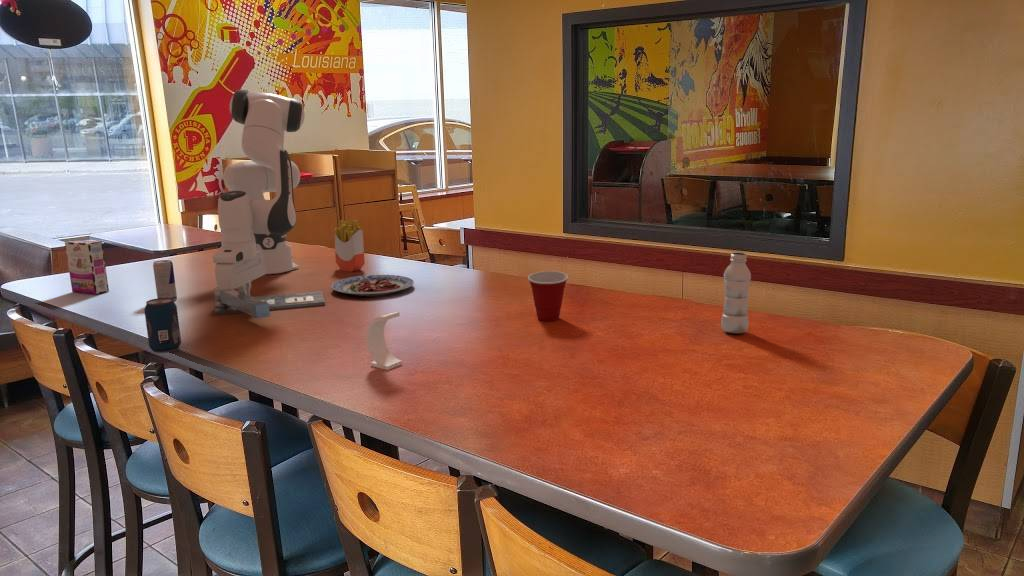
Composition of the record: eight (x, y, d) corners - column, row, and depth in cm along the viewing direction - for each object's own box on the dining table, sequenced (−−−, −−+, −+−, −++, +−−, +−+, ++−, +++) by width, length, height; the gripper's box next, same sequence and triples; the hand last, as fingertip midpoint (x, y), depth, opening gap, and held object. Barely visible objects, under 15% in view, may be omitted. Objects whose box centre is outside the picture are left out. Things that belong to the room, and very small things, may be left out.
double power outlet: (216, 303, 215) (215, 295, 214) (322, 294, 224) (321, 287, 223) (213, 315, 202) (212, 307, 201) (325, 305, 211) (324, 297, 210)
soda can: (150, 347, 174) (144, 299, 171) (182, 343, 177) (176, 295, 174) (149, 355, 168) (142, 305, 165) (181, 351, 170) (175, 302, 168)
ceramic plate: (406, 278, 245) (406, 269, 245) (421, 295, 221) (421, 286, 221) (328, 284, 237) (328, 275, 237) (335, 303, 214) (335, 293, 213)
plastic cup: (522, 322, 191) (521, 278, 188) (535, 311, 201) (535, 269, 198) (561, 325, 187) (561, 280, 185) (572, 315, 197) (573, 272, 194)
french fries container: (355, 272, 254) (351, 222, 249) (335, 269, 260) (332, 219, 256) (365, 270, 257) (362, 220, 253) (345, 267, 264) (342, 218, 260)
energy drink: (180, 298, 221) (175, 259, 218) (170, 302, 216) (166, 263, 213) (164, 298, 221) (159, 259, 219) (154, 302, 216) (148, 263, 213)
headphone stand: (387, 370, 156) (384, 317, 153) (367, 365, 160) (364, 312, 157) (402, 364, 160) (399, 312, 157) (382, 359, 163) (379, 308, 160)
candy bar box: (110, 291, 231) (103, 241, 227) (96, 295, 226) (88, 243, 222) (85, 288, 235) (77, 239, 231) (71, 292, 230) (63, 241, 227)
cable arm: (227, 297, 211) (226, 285, 210) (271, 315, 191) (270, 302, 190) (212, 299, 208) (211, 288, 208) (255, 318, 188) (254, 306, 187)
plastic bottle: (734, 338, 175) (739, 257, 171) (714, 331, 181) (718, 252, 177) (753, 334, 178) (759, 254, 174) (733, 327, 184) (738, 250, 180)
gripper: (248, 242, 211) (253, 288, 214) (208, 258, 191) (215, 308, 195) (268, 243, 209) (273, 289, 213) (230, 258, 190) (236, 308, 194)
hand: (245, 298), depth 204 cm, fingers closed
